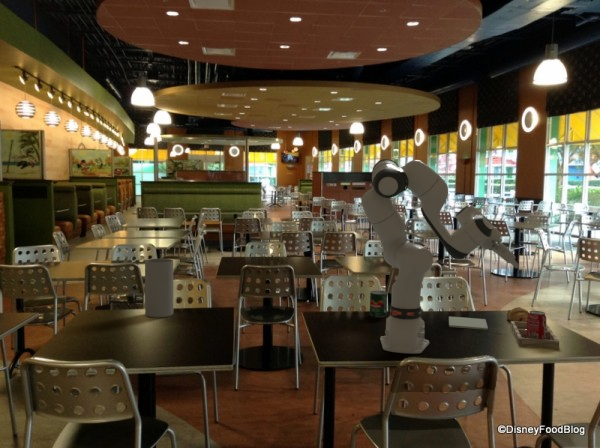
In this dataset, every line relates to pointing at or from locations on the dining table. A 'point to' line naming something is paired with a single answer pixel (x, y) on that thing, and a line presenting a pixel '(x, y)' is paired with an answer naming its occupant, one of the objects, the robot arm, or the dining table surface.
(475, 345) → the dining table surface
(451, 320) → the coaster mat
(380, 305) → the canned tomato
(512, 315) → the croissant
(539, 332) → the soda can
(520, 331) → the drink caddy
